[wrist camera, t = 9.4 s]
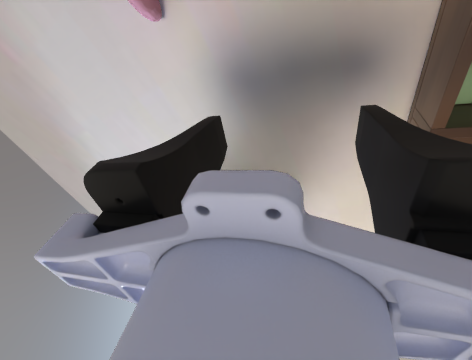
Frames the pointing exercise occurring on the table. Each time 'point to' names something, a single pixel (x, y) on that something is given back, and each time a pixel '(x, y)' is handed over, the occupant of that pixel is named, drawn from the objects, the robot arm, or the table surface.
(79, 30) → the table surface
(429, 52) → the caddy
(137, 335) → the robot arm
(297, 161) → the table surface
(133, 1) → the video game controller
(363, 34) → the table surface
